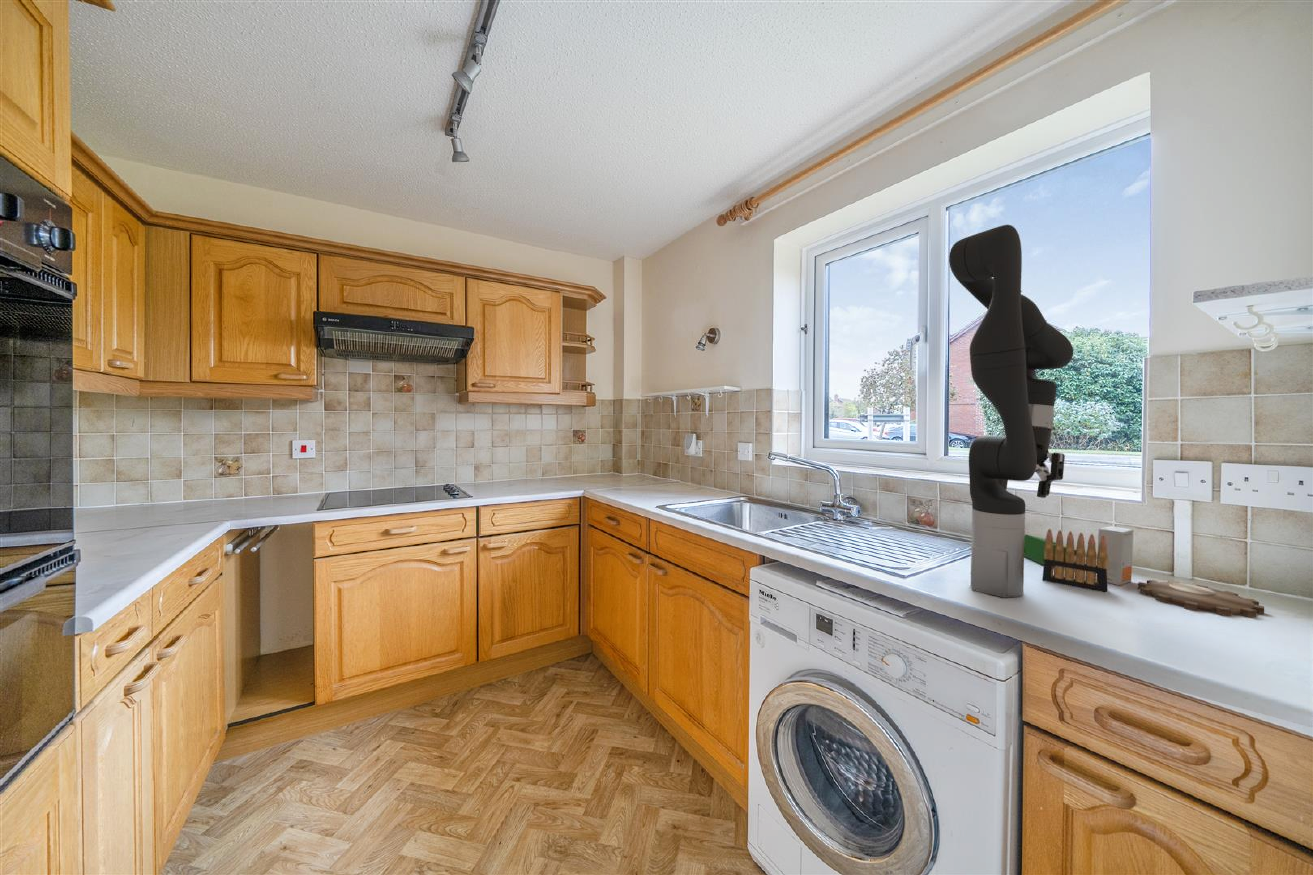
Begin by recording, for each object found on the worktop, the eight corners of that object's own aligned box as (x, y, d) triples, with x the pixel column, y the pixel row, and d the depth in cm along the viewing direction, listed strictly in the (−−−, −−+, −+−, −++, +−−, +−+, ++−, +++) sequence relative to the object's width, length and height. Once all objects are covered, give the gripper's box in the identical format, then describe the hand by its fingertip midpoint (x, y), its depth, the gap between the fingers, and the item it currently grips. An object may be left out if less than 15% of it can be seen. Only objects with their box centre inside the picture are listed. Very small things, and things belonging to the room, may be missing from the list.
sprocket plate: (1260, 624, 83) (1261, 617, 83) (1129, 596, 97) (1130, 589, 97) (1266, 603, 93) (1266, 596, 93) (1146, 580, 106) (1146, 574, 106)
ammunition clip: (1107, 590, 100) (1109, 535, 100) (1107, 592, 99) (1109, 536, 98) (1043, 578, 108) (1044, 527, 107) (1042, 580, 106) (1043, 528, 106)
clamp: (1063, 583, 117) (1083, 556, 113) (1037, 576, 118) (1057, 549, 114) (1039, 553, 127) (1057, 527, 123) (1016, 547, 128) (1033, 521, 124)
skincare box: (1121, 586, 103) (1122, 532, 102) (1096, 580, 106) (1097, 528, 106) (1132, 581, 105) (1134, 529, 105) (1107, 576, 109) (1109, 525, 109)
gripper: (989, 421, 114) (979, 487, 115) (1057, 425, 100) (1045, 499, 101) (1009, 424, 116) (999, 488, 117) (1077, 428, 103) (1066, 500, 104)
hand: (1021, 493), depth 109 cm, fingers open, 8 cm apart
